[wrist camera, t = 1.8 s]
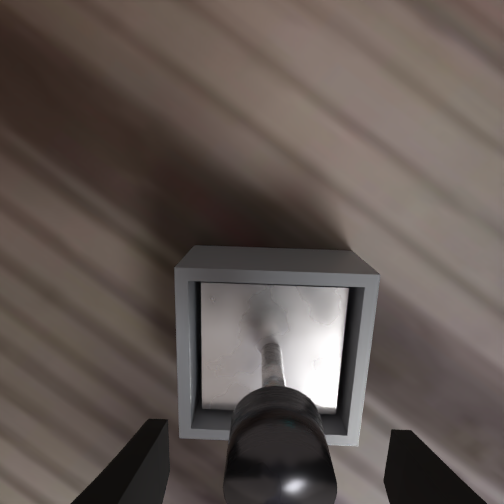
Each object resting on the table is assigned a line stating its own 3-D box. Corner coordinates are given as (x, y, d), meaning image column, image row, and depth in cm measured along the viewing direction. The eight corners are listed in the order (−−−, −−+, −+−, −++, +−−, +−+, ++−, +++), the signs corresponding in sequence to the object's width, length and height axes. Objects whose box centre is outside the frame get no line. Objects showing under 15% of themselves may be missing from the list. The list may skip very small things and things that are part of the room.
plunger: (333, 409, 17) (389, 586, 10) (203, 403, 17) (160, 574, 10) (346, 285, 16) (424, 386, 8) (202, 279, 16) (150, 375, 8)
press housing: (337, 388, 21) (358, 446, 16) (196, 382, 21) (179, 438, 16) (352, 250, 18) (380, 274, 14) (194, 245, 19) (174, 267, 14)
